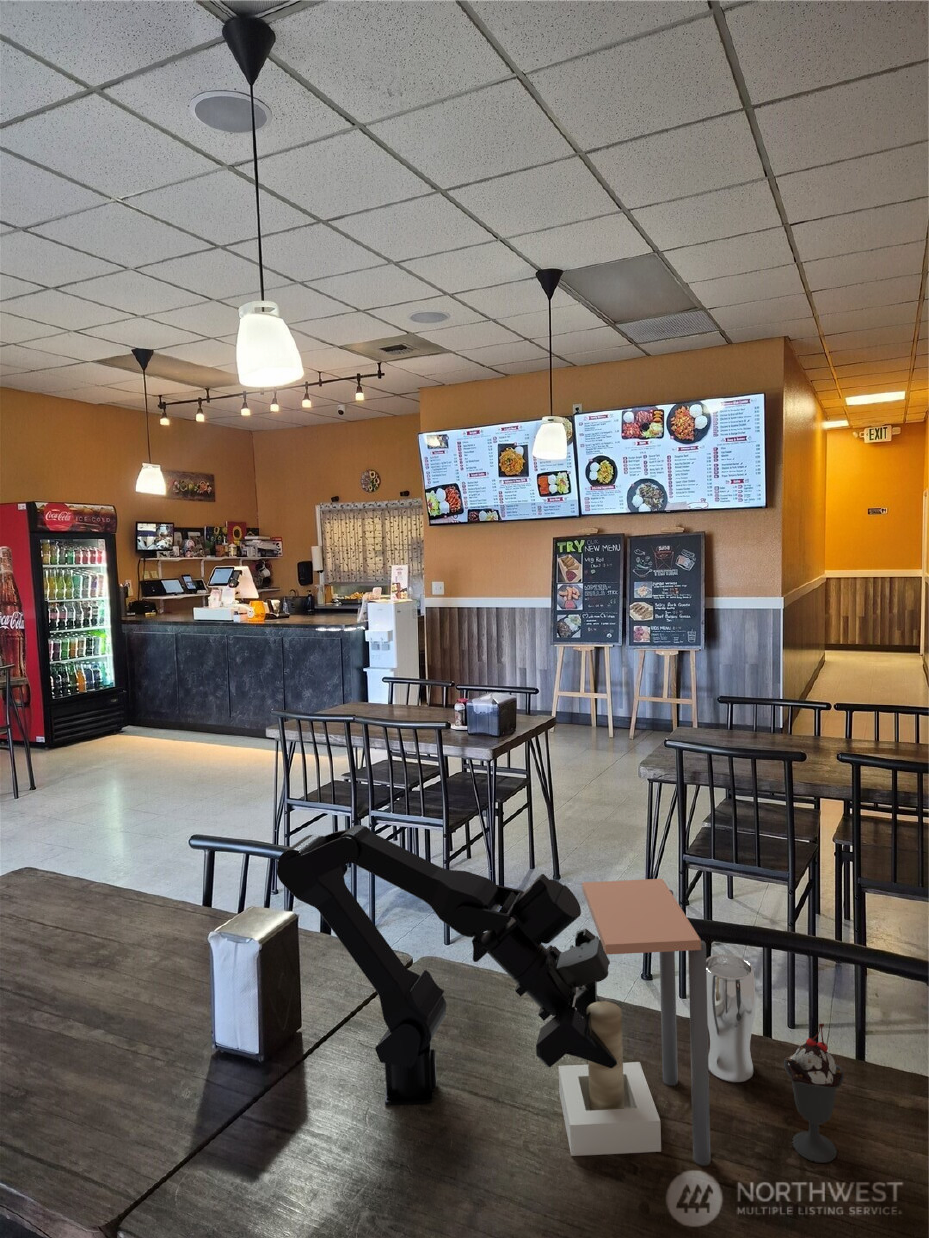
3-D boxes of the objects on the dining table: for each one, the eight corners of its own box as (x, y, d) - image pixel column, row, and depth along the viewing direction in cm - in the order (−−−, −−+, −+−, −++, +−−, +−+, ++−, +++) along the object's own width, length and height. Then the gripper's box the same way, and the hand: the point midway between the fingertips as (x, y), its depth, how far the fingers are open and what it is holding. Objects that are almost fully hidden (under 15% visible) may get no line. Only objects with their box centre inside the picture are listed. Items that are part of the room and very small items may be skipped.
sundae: (840, 1132, 97) (839, 1017, 96) (847, 1173, 91) (847, 1051, 90) (783, 1122, 99) (781, 1009, 98) (786, 1161, 93) (785, 1042, 92)
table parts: (574, 1175, 92) (566, 946, 90) (556, 1078, 109) (549, 883, 107) (714, 1168, 93) (709, 939, 90) (674, 1072, 109) (669, 878, 107)
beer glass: (760, 1087, 106) (759, 981, 105) (707, 1082, 107) (704, 977, 106) (752, 1054, 113) (750, 954, 111) (702, 1050, 114) (700, 951, 113)
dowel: (585, 1114, 100) (582, 1017, 98) (593, 1092, 104) (591, 998, 103) (620, 1122, 98) (617, 1024, 97) (627, 1099, 102) (624, 1004, 101)
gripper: (560, 960, 91) (660, 1062, 89) (578, 891, 109) (661, 975, 107) (496, 1017, 93) (592, 1117, 92) (524, 940, 111) (605, 1023, 110)
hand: (616, 1052), depth 100 cm, fingers open, 5 cm apart
